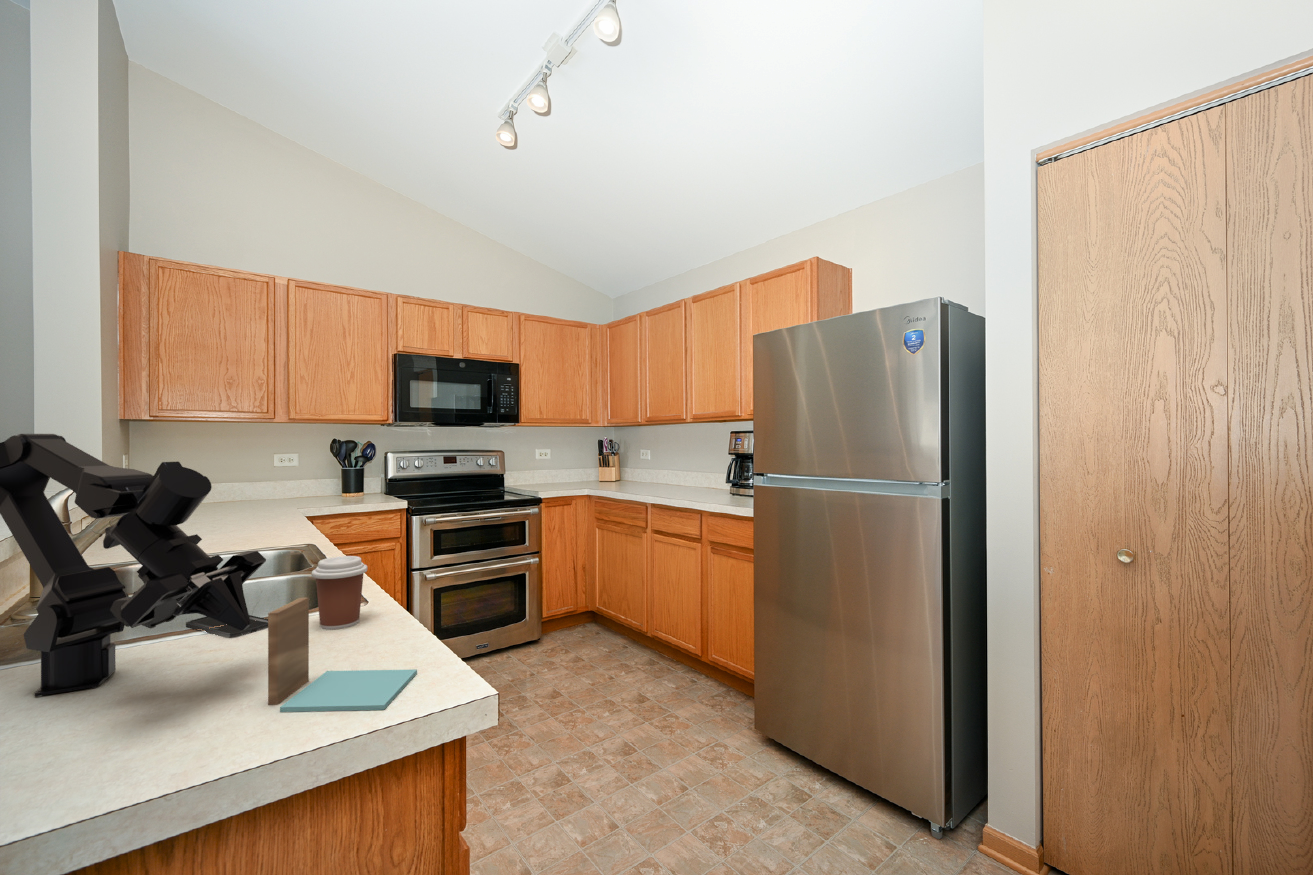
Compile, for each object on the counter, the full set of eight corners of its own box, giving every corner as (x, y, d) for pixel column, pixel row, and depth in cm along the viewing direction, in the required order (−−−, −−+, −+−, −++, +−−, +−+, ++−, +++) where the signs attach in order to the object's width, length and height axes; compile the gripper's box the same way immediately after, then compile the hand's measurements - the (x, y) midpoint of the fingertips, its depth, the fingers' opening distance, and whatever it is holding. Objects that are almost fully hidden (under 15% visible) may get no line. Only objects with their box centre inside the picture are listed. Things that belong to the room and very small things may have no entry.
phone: (229, 610, 110) (277, 621, 104) (229, 616, 110) (277, 627, 104) (182, 622, 103) (230, 634, 97) (182, 628, 103) (230, 641, 97)
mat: (279, 711, 71) (279, 707, 71) (327, 674, 82) (327, 670, 82) (384, 709, 72) (384, 705, 72) (417, 673, 83) (417, 669, 83)
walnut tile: (268, 705, 73) (268, 613, 73) (300, 681, 80) (300, 597, 80) (277, 704, 73) (277, 613, 73) (308, 681, 80) (308, 597, 80)
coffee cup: (358, 630, 101) (358, 564, 101) (302, 633, 99) (303, 566, 99) (373, 614, 110) (373, 553, 110) (322, 617, 108) (322, 555, 108)
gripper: (175, 573, 84) (250, 644, 85) (45, 611, 66) (142, 703, 66) (229, 520, 85) (303, 592, 85) (114, 544, 66) (210, 635, 67)
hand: (246, 627), depth 76 cm, fingers closed
